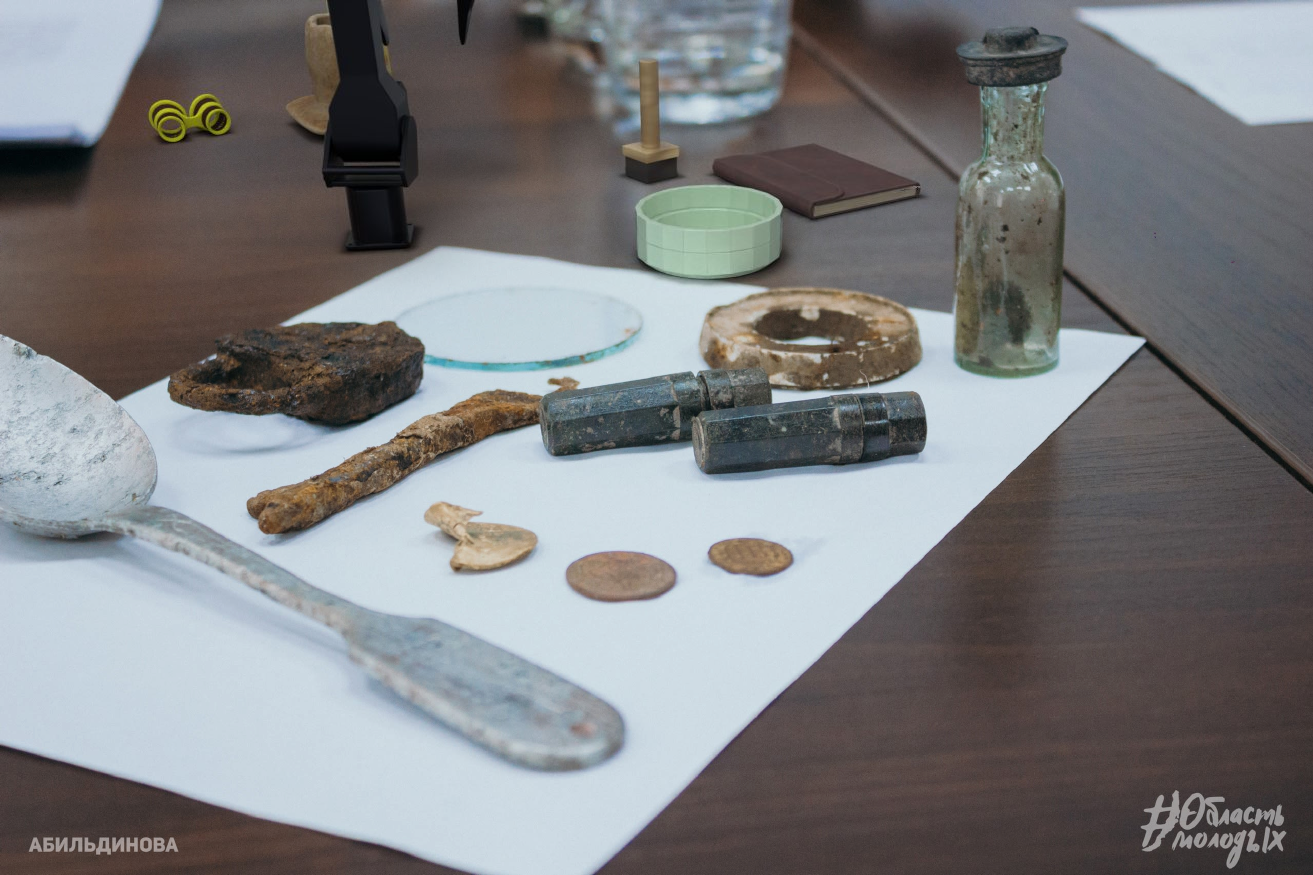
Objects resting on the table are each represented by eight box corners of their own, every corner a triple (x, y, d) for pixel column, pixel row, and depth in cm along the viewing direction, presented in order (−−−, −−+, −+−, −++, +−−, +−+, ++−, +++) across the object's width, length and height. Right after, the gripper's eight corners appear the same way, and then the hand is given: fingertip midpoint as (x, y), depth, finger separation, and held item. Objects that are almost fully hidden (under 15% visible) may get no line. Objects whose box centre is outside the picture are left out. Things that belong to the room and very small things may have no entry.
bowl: (793, 277, 114) (795, 226, 112) (643, 285, 113) (642, 234, 111) (766, 228, 127) (767, 181, 124) (631, 235, 126) (629, 188, 123)
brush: (647, 184, 141) (644, 66, 135) (623, 175, 145) (619, 60, 138) (679, 176, 144) (678, 60, 137) (655, 167, 147) (652, 54, 141)
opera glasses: (162, 150, 162) (156, 114, 159) (151, 134, 166) (145, 99, 163) (234, 138, 167) (230, 103, 164) (222, 123, 170) (217, 89, 167)
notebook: (815, 155, 150) (816, 139, 149) (920, 196, 135) (921, 178, 134) (712, 175, 144) (712, 158, 143) (810, 220, 129) (810, 201, 128)
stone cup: (400, 134, 164) (386, 18, 157) (312, 146, 159) (293, 28, 152) (369, 111, 176) (354, 2, 169) (286, 122, 171) (268, 11, 164)
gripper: (500, -113, 141) (513, 23, 150) (342, -110, 142) (364, 25, 151) (484, -92, 132) (498, 51, 141) (315, -89, 133) (341, 53, 142)
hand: (425, 44), depth 144 cm, fingers open, 9 cm apart
